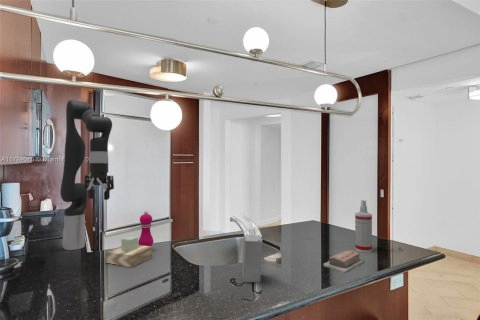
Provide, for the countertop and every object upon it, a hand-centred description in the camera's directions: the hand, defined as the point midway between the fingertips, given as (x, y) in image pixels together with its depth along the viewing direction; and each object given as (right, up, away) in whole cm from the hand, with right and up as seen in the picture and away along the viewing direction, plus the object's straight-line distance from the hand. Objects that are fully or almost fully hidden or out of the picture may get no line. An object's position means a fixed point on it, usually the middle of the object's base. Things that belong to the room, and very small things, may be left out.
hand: (98, 199), depth 131 cm
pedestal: (+12, -28, +4) cm, 31 cm away
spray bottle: (+124, -29, +20) cm, 129 cm away
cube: (+12, -23, +4) cm, 26 cm away
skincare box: (+66, -28, -16) cm, 74 cm away
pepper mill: (+15, -28, +18) cm, 37 cm away
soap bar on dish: (+107, -29, -1) cm, 111 cm away
